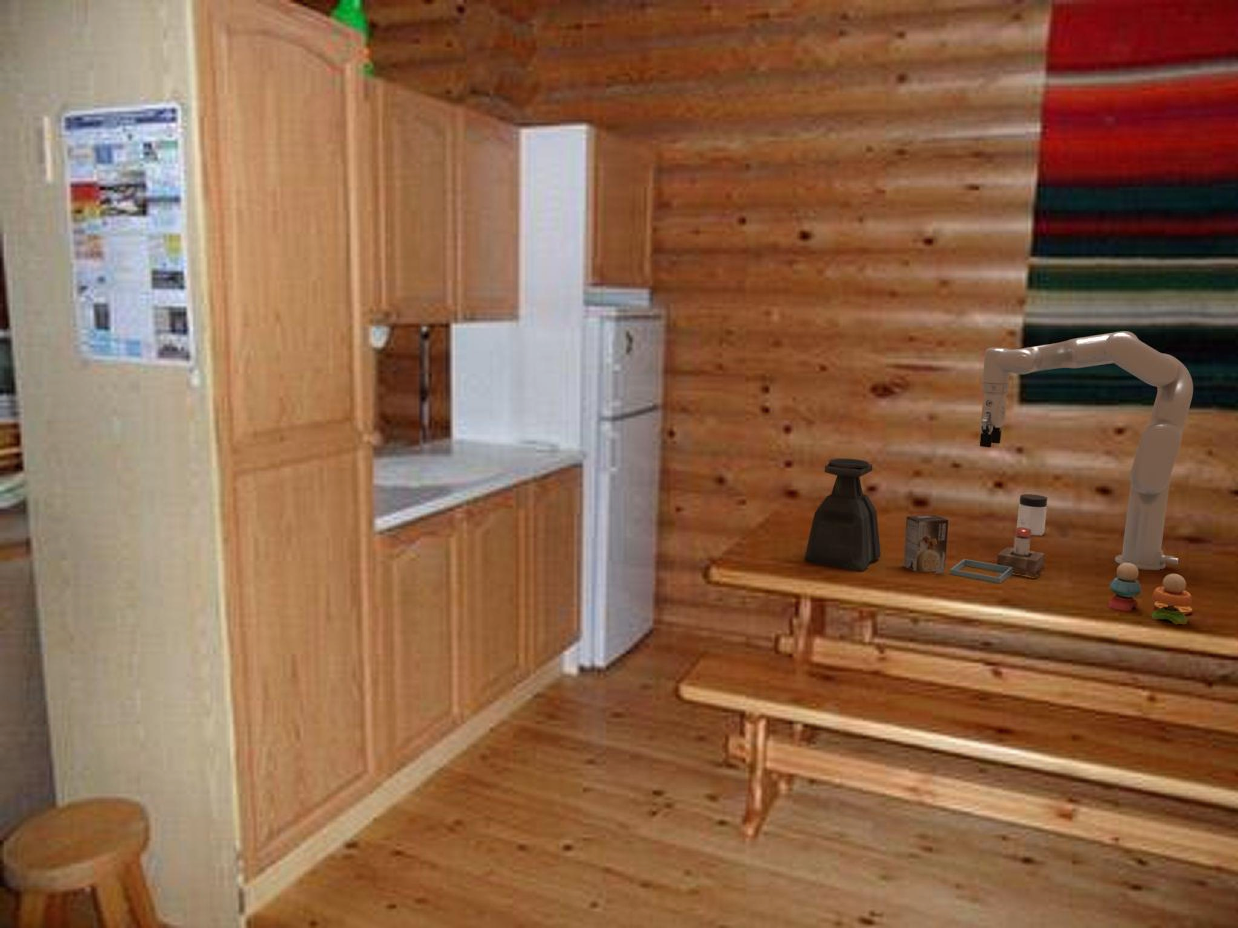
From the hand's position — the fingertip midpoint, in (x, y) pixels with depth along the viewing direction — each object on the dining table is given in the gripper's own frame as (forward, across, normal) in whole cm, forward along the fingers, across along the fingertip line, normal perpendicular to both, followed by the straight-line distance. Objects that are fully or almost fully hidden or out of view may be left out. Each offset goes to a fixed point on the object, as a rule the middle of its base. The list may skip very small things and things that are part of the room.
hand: (990, 444), depth 288 cm
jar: (+31, +23, -9) cm, 39 cm away
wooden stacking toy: (+31, -44, -52) cm, 75 cm away
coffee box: (+31, -48, +2) cm, 57 cm away
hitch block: (+31, -26, -18) cm, 44 cm away
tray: (+31, -39, -11) cm, 51 cm away
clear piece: (+30, -26, -18) cm, 44 cm away
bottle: (+31, -56, +22) cm, 67 cm away
